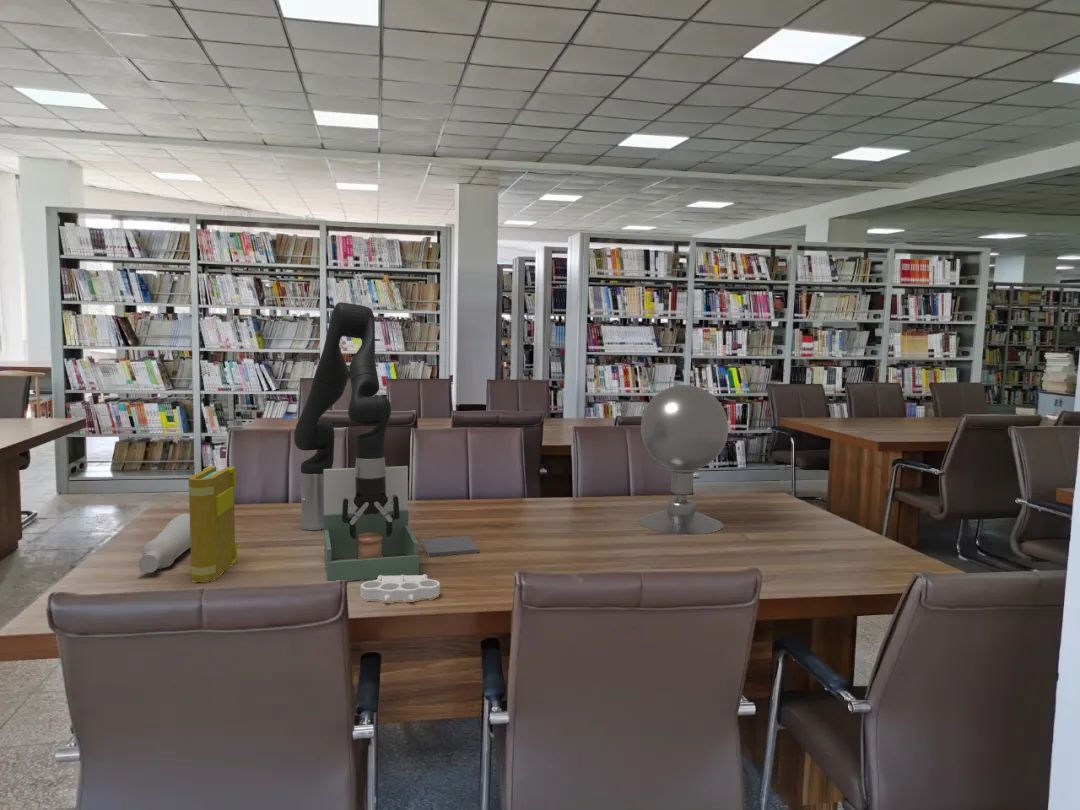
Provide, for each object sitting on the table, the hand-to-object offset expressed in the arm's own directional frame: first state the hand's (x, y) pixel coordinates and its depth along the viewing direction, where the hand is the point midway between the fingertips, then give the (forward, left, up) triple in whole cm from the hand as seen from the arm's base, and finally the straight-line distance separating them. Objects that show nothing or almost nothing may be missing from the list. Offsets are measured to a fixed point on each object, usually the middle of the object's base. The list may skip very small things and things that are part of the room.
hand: (371, 536), depth 192 cm
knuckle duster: (+5, -22, -9) cm, 24 cm away
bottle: (-50, +20, -8) cm, 55 cm away
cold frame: (0, 0, -8) cm, 8 cm away
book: (-38, +6, -8) cm, 40 cm away
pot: (0, 0, -8) cm, 8 cm away
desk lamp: (+101, +21, -8) cm, 103 cm away
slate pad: (+23, +12, -8) cm, 27 cm away
